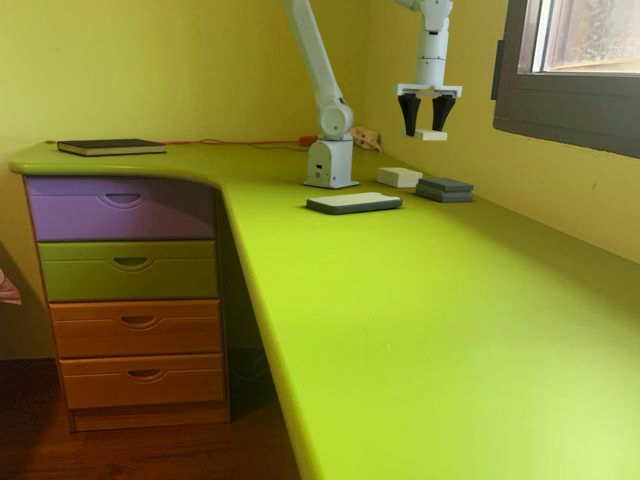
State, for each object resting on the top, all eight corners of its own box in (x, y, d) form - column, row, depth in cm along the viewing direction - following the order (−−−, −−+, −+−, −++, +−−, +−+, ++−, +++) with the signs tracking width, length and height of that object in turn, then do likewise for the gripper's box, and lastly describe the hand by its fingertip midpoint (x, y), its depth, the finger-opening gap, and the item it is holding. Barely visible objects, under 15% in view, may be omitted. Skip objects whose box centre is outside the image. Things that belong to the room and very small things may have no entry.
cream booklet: (446, 140, 136) (447, 132, 135) (422, 140, 134) (423, 132, 133) (423, 136, 143) (423, 128, 142) (400, 136, 141) (400, 128, 140)
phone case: (332, 217, 114) (405, 208, 122) (332, 206, 113) (406, 198, 122) (303, 208, 120) (374, 200, 129) (303, 198, 120) (374, 191, 128)
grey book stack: (472, 201, 133) (474, 184, 131) (442, 202, 130) (444, 185, 129) (443, 193, 141) (445, 177, 139) (415, 193, 138) (416, 178, 137)
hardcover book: (166, 153, 185) (165, 143, 184) (86, 156, 171) (85, 147, 170) (135, 147, 196) (135, 138, 194) (57, 150, 181) (56, 140, 180)
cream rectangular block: (421, 187, 147) (423, 173, 145) (397, 187, 145) (398, 173, 143) (399, 180, 154) (400, 167, 153) (376, 181, 152) (377, 167, 151)
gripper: (408, 57, 126) (401, 137, 132) (474, 61, 131) (464, 138, 138) (389, 57, 132) (383, 134, 138) (453, 61, 137) (445, 134, 143)
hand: (422, 136), depth 138 cm, fingers closed on cream booklet, 5 cm apart
